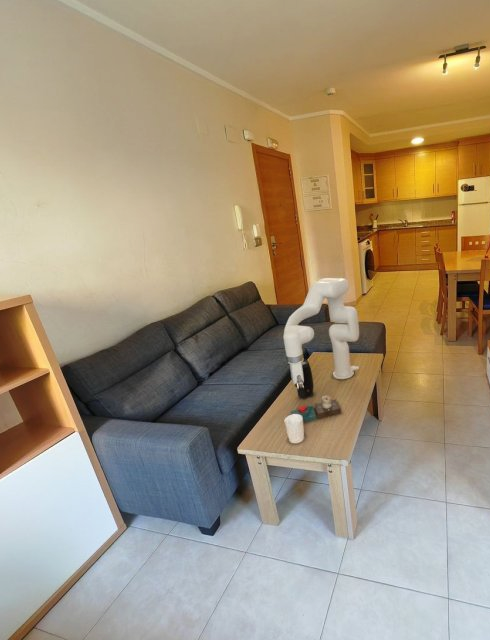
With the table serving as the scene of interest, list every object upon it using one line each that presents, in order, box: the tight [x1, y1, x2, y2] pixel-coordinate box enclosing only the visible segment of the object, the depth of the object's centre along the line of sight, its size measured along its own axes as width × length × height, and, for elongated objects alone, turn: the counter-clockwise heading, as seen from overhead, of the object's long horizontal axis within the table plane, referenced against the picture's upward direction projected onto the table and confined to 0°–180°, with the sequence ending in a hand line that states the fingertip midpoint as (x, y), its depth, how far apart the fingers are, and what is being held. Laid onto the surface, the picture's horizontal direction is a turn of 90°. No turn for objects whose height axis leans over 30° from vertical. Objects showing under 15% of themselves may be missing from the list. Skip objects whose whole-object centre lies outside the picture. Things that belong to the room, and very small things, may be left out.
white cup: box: [284, 414, 305, 444], centre depth 148 cm, size 8×8×10 cm
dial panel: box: [313, 398, 342, 420], centre depth 167 cm, size 11×9×3 cm
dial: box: [321, 395, 332, 408], centre depth 165 cm, size 4×4×5 cm
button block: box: [290, 405, 317, 424], centre depth 164 cm, size 11×9×4 cm
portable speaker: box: [295, 359, 314, 400], centre depth 181 cm, size 9×9×20 cm
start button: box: [298, 405, 306, 413], centre depth 163 cm, size 4×4×2 cm
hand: (300, 390), depth 160 cm, fingers open, 9 cm apart
